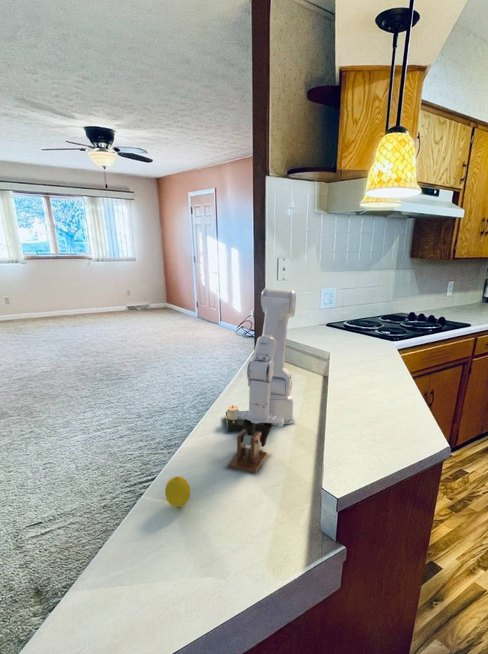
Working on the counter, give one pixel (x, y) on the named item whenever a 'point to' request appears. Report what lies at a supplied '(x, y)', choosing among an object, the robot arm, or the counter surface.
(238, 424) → the control panel
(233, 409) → the dial
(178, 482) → the lemon
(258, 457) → the switch bracket
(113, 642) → the counter surface
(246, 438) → the lever
